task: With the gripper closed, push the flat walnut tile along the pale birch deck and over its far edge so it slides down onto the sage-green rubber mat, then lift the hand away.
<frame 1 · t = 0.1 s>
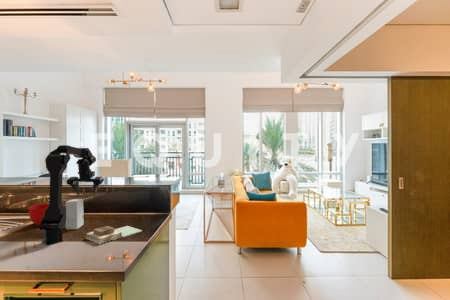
hand: (87, 194, 151), 15 cm above the counter, tool pointing down, fingers open, 9 cm apart
birch deck: (103, 238, 122), on the counter
ceramic cup: (46, 223, 145), on the counter
walnut tile: (103, 232, 122), point 2 cm above the counter, touching birch deck
skincare box: (74, 227, 138), on the counter
sage mat: (125, 231, 132), on the counter
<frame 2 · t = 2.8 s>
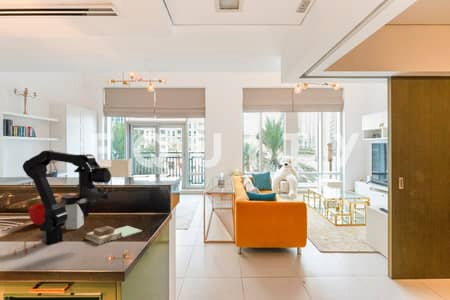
hand: (85, 216, 115), 12 cm above the counter, tool pointing down, fingers closed
nothing on the counter moved.
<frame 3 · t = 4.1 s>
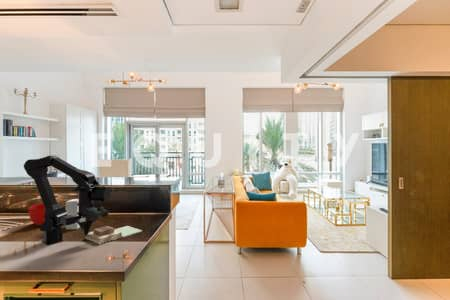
hand: (85, 235, 115), 4 cm above the counter, tool pointing down, fingers closed
nothing on the counter moved.
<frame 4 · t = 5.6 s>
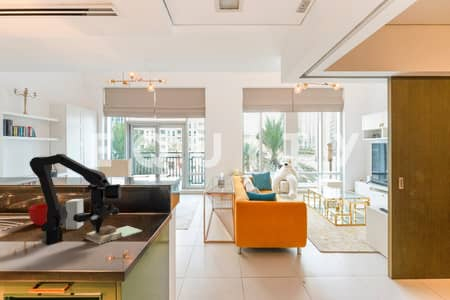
hand: (97, 232, 120), 4 cm above the counter, tool pointing down, fingers closed
walnut tile: (105, 232, 123), point 3 cm above the counter, touching birch deck, gripper
everything else where it was.
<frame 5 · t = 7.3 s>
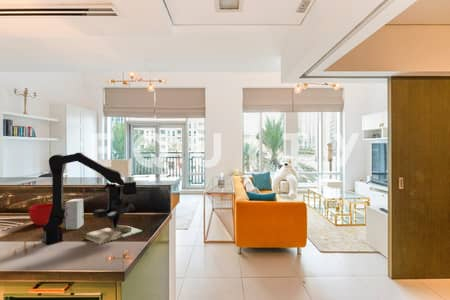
hand: (114, 227, 127), 4 cm above the counter, tool pointing down, fingers closed
walnut tile: (121, 230, 129), point 2 cm above the counter, tilted 16°, touching gripper
everything else where it was.
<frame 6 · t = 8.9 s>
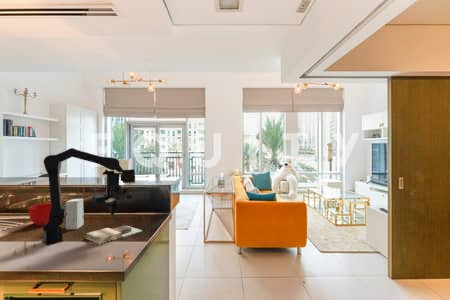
hand: (112, 214, 127), 10 cm above the counter, tool pointing down, fingers closed
walnut tile: (121, 232, 130), resting on sage mat
everything else where it was.
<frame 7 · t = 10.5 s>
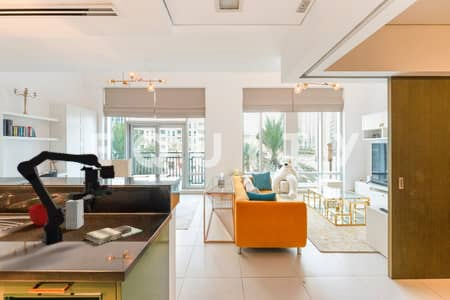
hand: (91, 211, 124), 12 cm above the counter, tool pointing down, fingers closed
nothing on the counter moved.
at the end: walnut tile inside the target area (2.4 cm from its centre), point 0.5 cm above the counter; walnut tile point 0.5 cm above the counter; walnut tile touching sage mat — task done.
